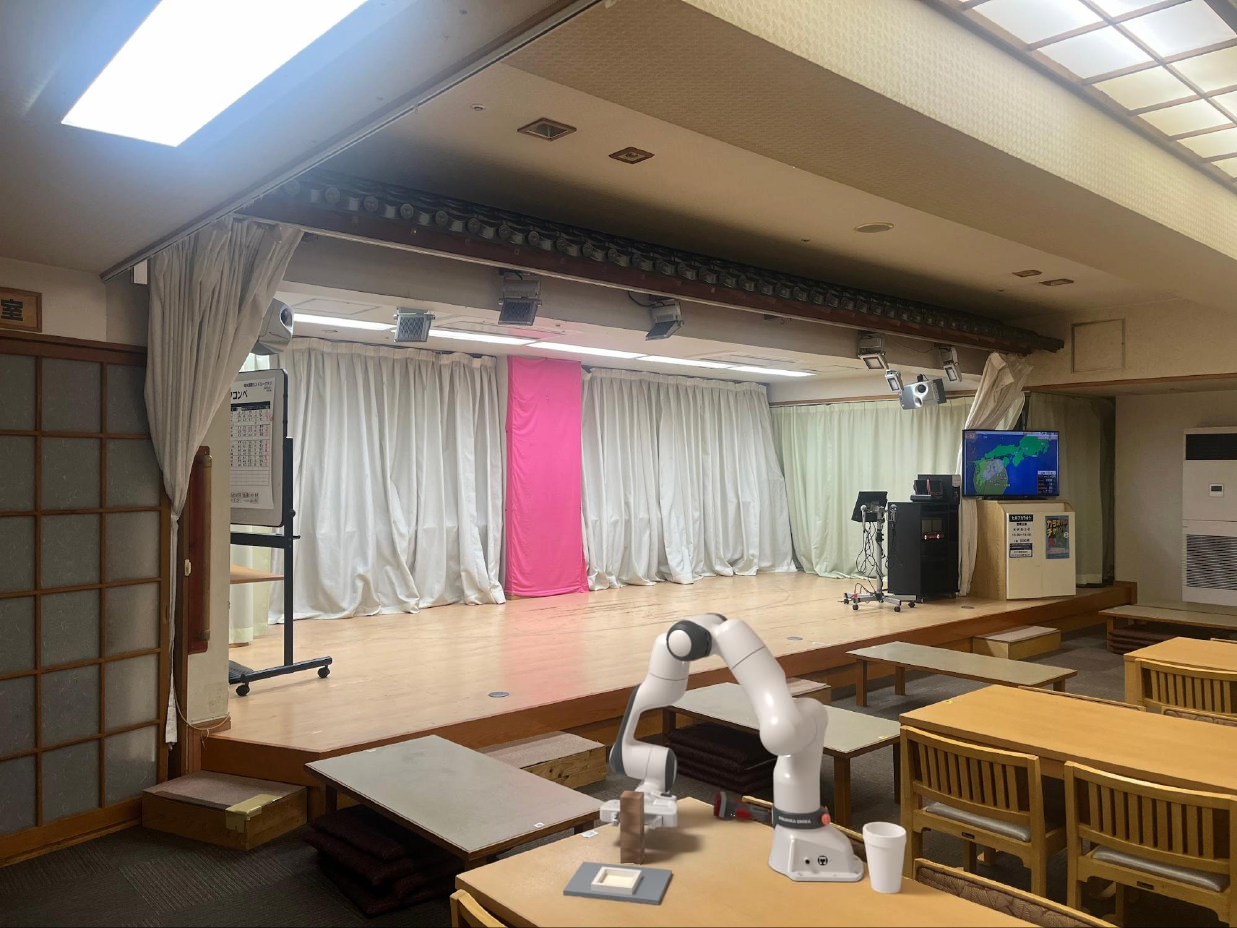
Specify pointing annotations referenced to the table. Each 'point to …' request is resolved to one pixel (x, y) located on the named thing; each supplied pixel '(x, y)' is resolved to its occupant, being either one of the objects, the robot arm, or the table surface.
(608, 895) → the board
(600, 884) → the socket
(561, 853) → the table surface
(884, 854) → the foam cup
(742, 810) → the toy
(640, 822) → the pillar
